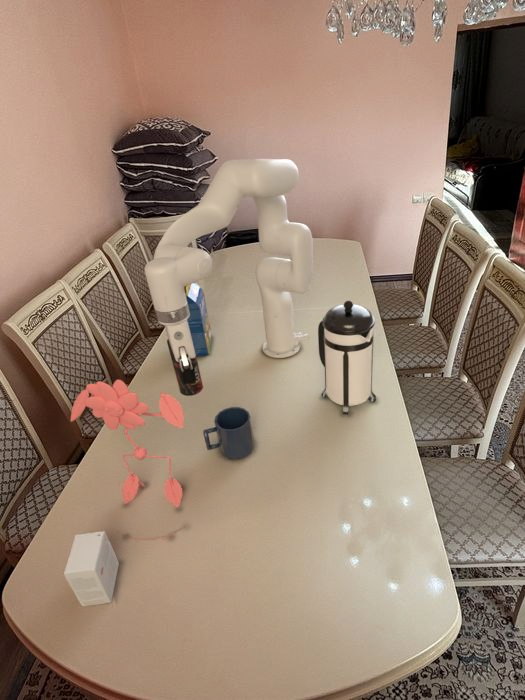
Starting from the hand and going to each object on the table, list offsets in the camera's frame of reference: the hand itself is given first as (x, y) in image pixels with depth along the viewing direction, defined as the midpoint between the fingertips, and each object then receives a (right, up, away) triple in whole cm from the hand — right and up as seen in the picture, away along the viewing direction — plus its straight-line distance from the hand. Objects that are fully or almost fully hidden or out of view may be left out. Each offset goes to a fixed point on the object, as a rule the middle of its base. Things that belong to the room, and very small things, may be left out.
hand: (188, 374), depth 113 cm
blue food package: (-2, +7, +44) cm, 45 cm away
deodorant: (+1, -4, +3) cm, 5 cm away
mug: (+11, -19, 0) cm, 22 cm away
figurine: (-6, -30, -14) cm, 33 cm away
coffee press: (+42, -7, +13) cm, 44 cm away
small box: (-12, -39, -28) cm, 49 cm away
